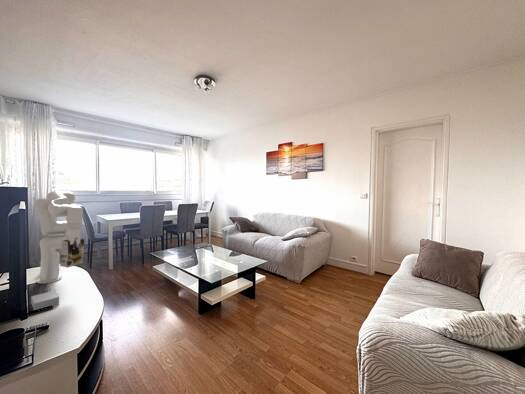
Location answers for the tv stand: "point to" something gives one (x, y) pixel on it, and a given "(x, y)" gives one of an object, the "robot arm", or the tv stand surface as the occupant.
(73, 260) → the coffee box
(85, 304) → the tv stand surface
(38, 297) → the base block
